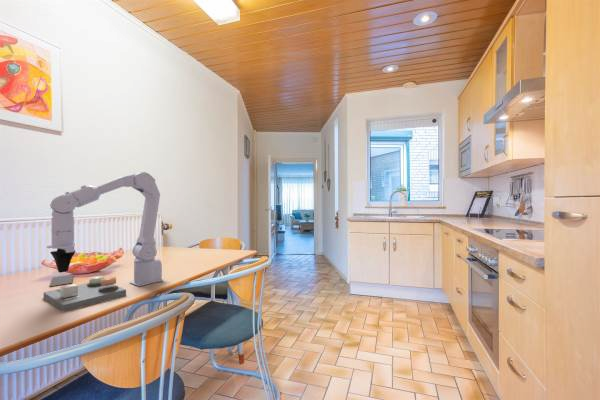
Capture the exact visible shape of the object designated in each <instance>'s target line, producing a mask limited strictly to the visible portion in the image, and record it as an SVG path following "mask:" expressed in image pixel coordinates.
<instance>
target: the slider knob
mask: <svg viewBox="0 0 600 400" xmlns="http://www.w3.org/2000/svg"><path fill="white" fill-rule="evenodd" d="M78 285H79V284H76V283H73V284H69V285H62V286H59V287H60V288H59V289H60V296H61V297H63V298H66V297H70V296H75V295H78Z"/></svg>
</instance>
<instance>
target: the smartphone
mask: <svg viewBox="0 0 600 400" xmlns="http://www.w3.org/2000/svg"><path fill="white" fill-rule="evenodd" d="M72 284H74V274H68V275H67V274H66V275H59V276H53V277H52V278H51V281H50V283H49V288H53V287H62V286H67V285H72Z"/></svg>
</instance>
